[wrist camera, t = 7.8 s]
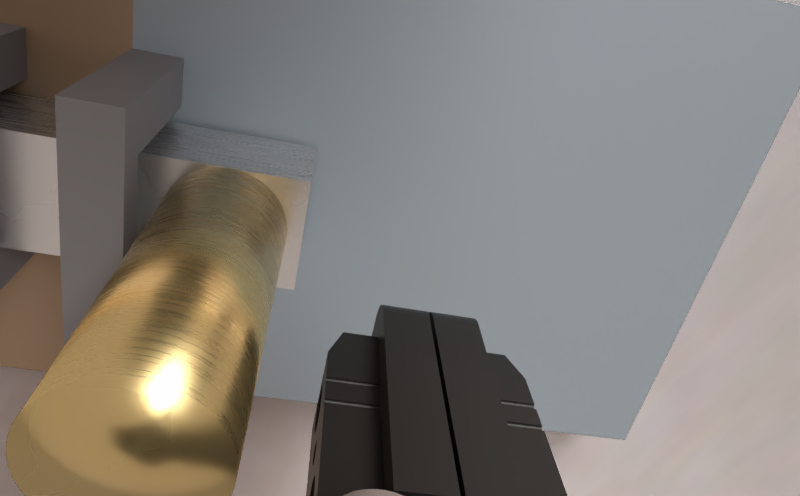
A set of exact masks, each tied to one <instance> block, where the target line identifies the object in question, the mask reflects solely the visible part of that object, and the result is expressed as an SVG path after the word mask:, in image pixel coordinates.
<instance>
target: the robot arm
mask: <svg viewBox="0 0 800 496" xmlns="http://www.w3.org/2000/svg"><path fill="white" fill-rule="evenodd" d="M306 496H567V494H566V491H565V488H564V485H563V482H562V480H561V477H560V474H559V471H558V468H557V466H556V463H555V460H554V457H553V454H552V452H551V449H550V446H549V443H548V441H547V438H546V435H545V432H544V431H542V424H541V421H540V418H539V415H538V413H537V410H536V409H534V402H533V399H532V396H531V393H530V390H529V388H528V385H527V382H526V379H525V378H524V377H523V375H522V374H521V373H520V372H519V371H518V370H517V369H516V367H515V366H514V365H513V364H512V363H511V362H510V361H509V359H508V358H507V357H506V356H505V355H501V354H494V353H487V352H486V349H485V345H484V342H483V338H482V335H481V331H480V328H479V325H478V322H477V320H476V319H475V318H468V317H462V316H455V315H449V314H442V313H435V312H427V311H421V310H414V309H408V308H401V307H395V306H388V305H380V307H379V309H378V312H377V316H376V320H375V324H374V328H373V332H372V336H367V335H360V334H353V333H346V332H343V333H342V335H341V336H340V337H339V338H338V340H337V341H336V342H335V343H334V345H333V346H332V347H331V348H330V350H329V351H328V354H327V359H326V364H325V369H324V374H323V379H322V384H321V389H320V394H319V399H318V404H317V409H316V414H315V419H314V424H313V428H312V439H311V450H310V461H309V472H308V484H307V493H306Z"/></svg>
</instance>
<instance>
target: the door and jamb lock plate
mask: <svg viewBox="0 0 800 496" xmlns="http://www.w3.org/2000/svg"><path fill="white" fill-rule="evenodd" d="M799 89H800V6H796V5H792V4H788V3H784V2H779V1H775V0H0V92H1V91H7V92H13V93H18V94H24V95H30V96H35V97H41V98H46V99H52V100H55V117H56V146H57V175H58V204H59V233H60V256H57V255H50V254H43V253H36V252H29V251H22V250H15V249H9V248H2V247H0V366H5V367H14V368H22V369H31V370H39V371H48V370H49V368H50V367H51V365H52V364H53V362H54V361H55V359H56V358H57V356H58V355H59V353H60V352H61V350H62V349H63V347H64V346H65V344H66V343H67V341H68V340H69V338H70V337H71V335H72V334H73V332H74V331H75V329H76V328H77V326H78V325H79V323H80V322H81V320H82V319H83V317H84V316H85V314H86V313H87V311H88V310H89V308H90V307H91V305H92V304H93V303H94V301H95V300H96V298H97V297H98V295H99V294H100V292H101V291H102V289H103V288H104V286H105V285H106V283H107V282H108V280H109V279H110V277H111V276H112V274H113V273H114V271H115V270H116V268H117V267H118V265H119V264H120V262H121V261H122V259H123V258H124V256H125V255H126V253H127V252H128V250H129V249H130V247H131V246H132V244H133V243H134V241H135V240H136V211H137V173H138V154H139V153H140V152H141V151H142V150H143V149H144V148H145V147H146V145H147V144H148V143H149V142H150V141H151V140H152V139H153V138H154V137H155V135H156V134H157V133H158V132H159V131H160V130H161V129H162V128H163V126H164V125H165V124H166V123H167V122H168V121H173V122H179V123H185V124H190V125H196V126H201V127H207V128H212V129H218V130H223V131H229V132H234V133H240V134H245V135H251V136H256V137H262V138H268V139H273V140H279V141H284V142H290V143H295V144H301V145H306V146H312V147H317V149H316V156H315V162H314V168H313V175H312V181H311V187H310V193H309V200H308V206H307V212H306V218H305V225H304V231H303V237H302V244H301V250H300V256H299V262H298V269H297V275H296V281H295V287H294V290H291V289H284V288H277V287H276V291H275V296H274V301H273V305H272V310H271V315H270V320H269V325H268V329H267V334H266V339H265V344H264V349H263V353H262V358H261V363H260V368H259V373H258V377H257V382H256V387H255V392H254V396H258V397H267V398H275V399H284V400H292V401H301V402H309V403H317V404H318V399H319V394H320V389H321V384H322V379H323V374H324V369H325V364H326V359H327V354H328V351H329V350H330V348H331V347H332V346H333V345H334V343H335V342H336V341H337V340H338V338H339V337H340V336H341V335H342V333H343V332H346V333H353V334H360V335H367V336H372V332H373V328H374V324H375V320H376V316H377V312H378V309H379V307H380V305H388V306H395V307H401V308H408V309H414V310H421V311H427V312H435V313H442V314H449V315H455V316H462V317H468V318H475V319H476V320H477V322H478V325H479V328H480V331H481V335H482V338H483V342H484V345H485V349H486V352H487V353H494V354H501V355H505V356H506V357H507V358H508V359H509V361H510V362H511V363H512V364H513V365H514V366H515V367H516V369H517V370H518V371H519V372H520V373H521V374H522V375H523V377H524V378H525V379H526V382H527V385H528V388H529V390H530V393H531V396H532V399H533V402H534V409H536V410H537V413H538V415H539V418H540V421H541V424H542V430H545V431H554V432H562V433H570V434H579V435H587V436H596V437H604V438H613V439H621V440H625V438H626V436H627V434H628V432H629V430H630V428H631V426H632V424H633V422H634V420H635V418H636V416H637V414H638V412H639V410H640V408H641V406H642V404H643V402H644V400H645V398H646V396H647V394H648V392H649V390H650V388H651V386H652V384H653V382H654V380H655V378H656V376H657V374H658V372H659V370H660V368H661V366H662V364H663V362H664V360H665V358H666V356H667V354H668V352H669V350H670V348H671V346H672V344H673V342H674V340H675V338H676V336H677V334H678V332H679V330H680V328H681V326H682V324H683V322H684V320H685V318H686V316H687V314H688V312H689V310H690V308H691V306H692V304H693V302H694V300H695V298H696V296H697V294H698V292H699V290H700V288H701V286H702V284H703V282H704V280H705V278H706V276H707V274H708V272H709V270H710V268H711V266H712V264H713V262H714V260H715V258H716V256H717V253H718V251H719V249H720V247H721V245H722V243H723V241H724V239H725V237H726V235H727V233H728V231H729V229H730V227H731V225H732V223H733V221H734V219H735V217H736V215H737V213H738V211H739V209H740V207H741V205H742V203H743V201H744V199H745V197H746V195H747V193H748V191H749V189H750V187H751V185H752V183H753V181H754V179H755V177H756V175H757V173H758V171H759V169H760V167H761V165H762V163H763V161H764V159H765V157H766V155H767V153H768V151H769V149H770V147H771V145H772V143H773V141H774V139H775V137H776V135H777V133H778V131H779V129H780V127H781V125H782V123H783V121H784V119H785V117H786V115H787V113H788V111H789V109H790V107H791V105H792V103H793V101H794V99H795V97H796V95H797V93H798V91H799Z"/></svg>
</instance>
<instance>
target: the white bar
mask: <svg viewBox="0 0 800 496" xmlns="http://www.w3.org/2000/svg"><path fill="white" fill-rule="evenodd" d="M316 149H317V147H312V146H306V145H301V144H295V143H290V142H284V141H279V140H273V139H268V138H262V137H256V136H251V135H245V134H240V133H234V132H229V131H223V130H218V129H212V128H207V127H201V126H196V125H190V124H185V123H179V122H173V121H168V122H167V123H166V124H165V125H164V126H163V128H162V129H161V130H160V131H159V132H158V133H157V134H156V135H155V137H154V138H153V139H152V140H151V141H150V142H149V143H148V144H147V145H146V147H145V148H144V149H143V150H142V151H141V152H140V153H139V154H138V173H137V211H136V240H135V241H134V243H133V244H132V246H131V247H130V249H129V250H128V252H127V253H126V255H125V256H124V258H123V259H122V261H121V262H120V264H119V265H118V267H117V268H116V270H115V271H114V273H113V274H112V276H111V277H110V279H109V280H108V282H107V283H106V285H105V286H104V288H103V289H102V291H101V292H100V294H99V295H98V297H97V298H96V300H95V301H94V303H93V304H92V305H91V307H90V308H89V310H88V311H87V313H86V314H85V316H84V317H83V319H82V320H81V322H80V323H79V325H78V326H77V328H76V329H75V331H74V332H73V334H72V335H71V337H70V338H69V340H68V341H67V343H66V344H65V346H64V347H63V349H62V350H61V352H60V353H59V355H58V356H57V358H56V359H55V361H54V362H53V364H52V365H51V367H50V368H49V370H48V371H47V373H46V374H45V376H44V377H43V379H42V380H41V382H40V383H39V385H38V386H37V388H36V389H35V391H34V392H33V394H32V395H31V397H30V398H29V400H28V401H27V403H26V404H25V405H24V407H23V408H22V410H21V411H20V413H19V414H18V416H17V417H16V419H15V420H14V422H13V423H12V426H11V428H10V430H9V433H8V437H7V442H6V458H7V463H8V467H9V470H10V472H11V475H12V477H13V479H14V481H15V483H16V484H17V486H18V487H19V489H20V490H21V491H22V493H23V494H24V495H25V496H231V494H232V492H233V490H234V487H235V483H236V478H237V474H238V469H239V464H240V459H241V454H242V450H243V445H244V440H245V435H246V430H247V425H248V421H249V416H250V411H251V406H252V401H253V397H254V392H255V387H256V382H257V377H258V373H259V368H260V363H261V358H262V353H263V349H264V344H265V339H266V334H267V329H268V325H269V320H270V315H271V310H272V305H273V301H274V296H275V291H276V287H277V288H284V289H291V290H294V287H295V281H296V275H297V269H298V262H299V256H300V250H301V244H302V237H303V231H304V225H305V218H306V212H307V206H308V200H309V193H310V187H311V181H312V175H313V168H314V162H315V156H316ZM0 247H2V248H9V249H15V250H22V251H29V252H36V253H43V254H50V255H57V256H60V233H59V204H58V175H57V146H56V117H55V100H52V99H46V98H41V97H35V96H30V95H24V94H18V93H13V92H7V91H1V92H0Z"/></svg>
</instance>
